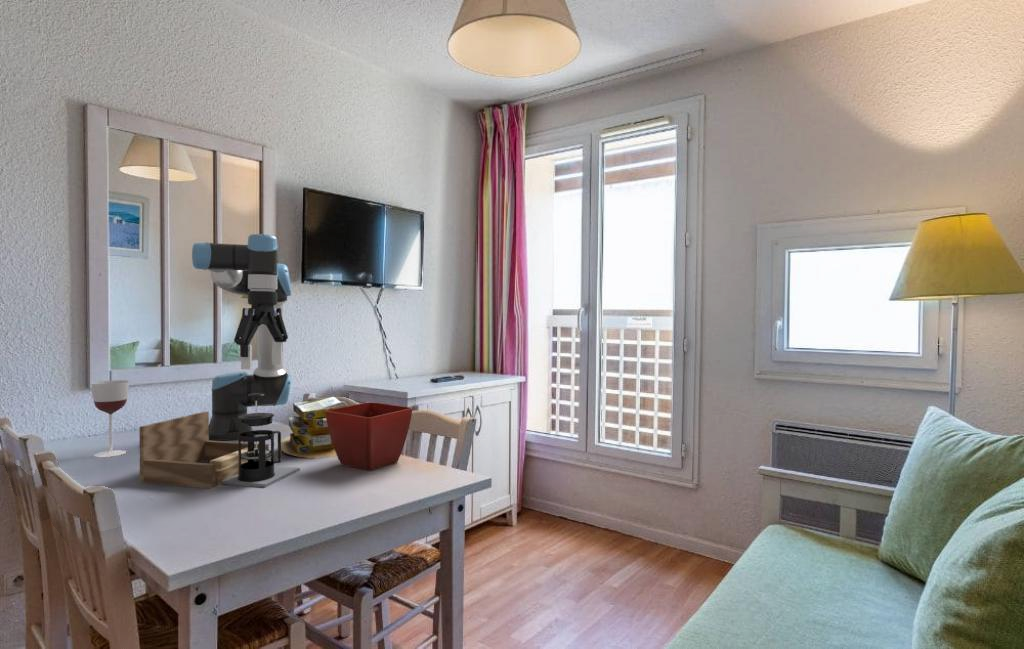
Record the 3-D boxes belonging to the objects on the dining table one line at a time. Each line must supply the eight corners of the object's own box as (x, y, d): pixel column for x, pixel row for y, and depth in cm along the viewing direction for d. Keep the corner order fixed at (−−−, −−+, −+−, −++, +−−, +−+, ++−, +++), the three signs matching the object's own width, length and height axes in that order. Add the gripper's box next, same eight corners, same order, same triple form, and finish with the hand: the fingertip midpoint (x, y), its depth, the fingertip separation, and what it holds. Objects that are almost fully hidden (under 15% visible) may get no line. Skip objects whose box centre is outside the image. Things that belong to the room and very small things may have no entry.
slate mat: (260, 467, 166) (260, 464, 166) (299, 470, 163) (299, 467, 163) (221, 483, 150) (221, 480, 150) (265, 487, 147) (265, 484, 147)
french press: (241, 484, 147) (241, 397, 146) (230, 476, 154) (229, 393, 153) (286, 475, 155) (286, 393, 154) (273, 468, 162) (273, 389, 161)
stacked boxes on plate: (362, 453, 183) (363, 403, 183) (281, 461, 173) (281, 407, 173) (351, 438, 206) (351, 392, 206) (278, 443, 196) (278, 396, 195)
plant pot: (368, 476, 159) (368, 416, 158) (323, 465, 169) (323, 410, 168) (413, 461, 175) (414, 407, 174) (370, 452, 185) (370, 401, 185)
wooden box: (205, 459, 174) (205, 411, 174) (268, 464, 170) (268, 414, 169) (139, 482, 151) (139, 426, 150) (211, 488, 146) (211, 431, 146)
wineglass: (84, 455, 177) (84, 383, 176) (117, 448, 186) (117, 379, 186) (103, 458, 173) (103, 384, 173) (136, 451, 183) (135, 381, 182)
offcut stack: (245, 466, 167) (245, 446, 167) (259, 467, 167) (259, 447, 167) (203, 485, 149) (203, 463, 149) (219, 486, 149) (219, 463, 149)
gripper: (277, 292, 168) (277, 362, 169) (218, 288, 144) (219, 371, 145) (300, 292, 167) (300, 363, 168) (244, 289, 143) (244, 372, 143)
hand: (262, 367), depth 156 cm, fingers open, 13 cm apart
